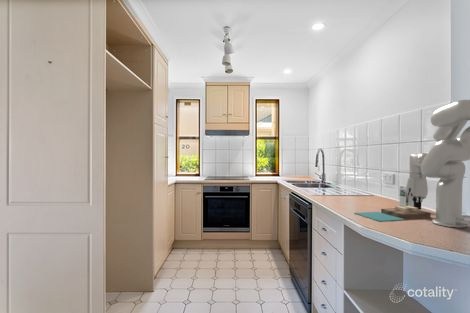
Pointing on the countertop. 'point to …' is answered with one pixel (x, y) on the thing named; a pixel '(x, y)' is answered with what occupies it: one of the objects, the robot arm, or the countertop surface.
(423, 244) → the countertop surface
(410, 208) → the birch tile
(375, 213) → the teal mat
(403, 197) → the syrup box
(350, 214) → the countertop surface
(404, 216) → the walnut deck
